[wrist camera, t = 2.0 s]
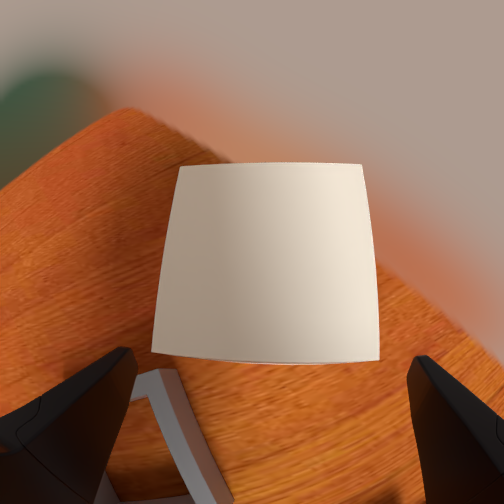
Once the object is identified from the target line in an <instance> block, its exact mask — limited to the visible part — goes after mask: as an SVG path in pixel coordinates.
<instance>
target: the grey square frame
mask: <svg viewBox="0 0 504 504" xmlns="http://www.w3.org/2000/svg"><path fill="white" fill-rule="evenodd" d="M146 397H148V398H149V401H150V404H151V406H152V409H153V412H154V414H155V417H156V419H157V422H158V424H159V427H160V429H161V432H162V434H163V437H164V439H165V441H166V444H167V446H168V448H169V450H170V453H171V455H172V457H173V459H174V461H175V464H176V466H177V468H178V470H179V472H180V474H181V476H182V478H183V480H184V482H185V484H186V486H187V488H188V490H189V492H190V494H188V495H182V496H176V497H169V498H161V499H152V500H142V501H129V502H120V500H119V499H118V497H117V495H116V493H115V491H114V489H113V487H112V485H111V482H110V480H109V478H108V476H107V474H106V472H105V471H104V474H103V477H102V480H101V483H100V486H99V489H98V492H97V495H96V498H95V501H94V504H233V502H234V498H233V497H232V495H231V493H230V491H229V489H228V487H227V485H226V483H225V481H224V479H223V477H222V475H221V473H220V471H219V469H218V467H217V465H216V463H215V461H214V459H213V456H212V454H211V452H210V450H209V448H208V446H207V443H206V441H205V439H204V437H203V434H202V432H201V430H200V427H199V425H198V423H197V420H196V418H195V416H194V413H193V411H192V408H191V406H190V403H189V401H188V398H187V396H186V393H185V391H184V388H183V385H182V383H181V380H180V377H179V375H178V372H177V369H160V368H158V369H155V370H152V371H149V372H146V373H143V374H140V375H137V377H136V380H135V384H134V387H133V391H132V395H131V398H130V402H132V401H135V400H139V399H142V398H146Z"/></svg>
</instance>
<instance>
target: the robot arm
mask: <svg viewBox="0 0 504 504" xmlns="http://www.w3.org/2000/svg"><path fill="white" fill-rule="evenodd" d="M137 373H138V365H137V362H136V359H135V357H134V354H133V351H132V349H131V348H128V347H122V346H120V347H117V348H116V349H114V350H113V351H111V352H109V353H108V354H106V355H105V356H103V357H102V358H100V359H98V360H97V361H95V362H94V363H92V364H90V365H89V366H87V367H86V368H84V369H82V370H81V371H79V372H78V373H76V374H74V375H73V376H71V377H70V378H68V379H66V380H65V381H63V382H62V383H60V384H58V385H57V386H55V387H54V388H52V389H50V390H49V391H47V392H46V393H44V394H42V396H39V397H37V398H36V399H34V400H33V401H31V402H29V403H27V404H26V405H24V406H22V407H20V408H18V409H17V410H15V411H13V412H11V413H9V414H7V415H5V416H2V417H0V504H94V501H95V498H96V495H97V492H98V489H99V486H100V483H101V480H102V477H103V474H104V471H105V468H106V466H107V463H108V460H109V457H110V454H111V452H112V449H113V446H114V443H115V441H116V438H117V435H118V433H119V430H120V427H121V425H122V422H123V420H124V417H125V415H126V412H127V409H128V406H129V402H130V398H131V395H132V391H133V387H134V384H135V380H136V377H137ZM407 386H408V394H409V402H410V410H411V418H412V424H413V429H414V434H415V438H416V443H417V448H418V453H419V459H420V464H421V470H422V476H423V483H424V490H425V497H426V504H504V420H503V419H502V418H501V417H500V416H499V415H497V414H496V413H495V412H494V411H493V410H492V409H491V408H489V407H488V406H487V405H486V404H485V403H484V402H482V401H481V400H480V399H479V398H478V397H477V396H475V395H474V394H473V393H472V392H471V391H470V390H468V389H467V388H466V387H465V386H464V385H462V384H461V383H460V382H459V381H458V380H456V379H455V378H454V377H453V376H452V375H450V374H449V373H448V372H447V371H446V370H444V369H443V368H442V367H441V366H440V365H438V364H437V363H436V362H435V361H434V360H432V359H431V358H430V357H429V356H427V355H420V356H415V357H414V359H413V361H412V363H411V366H410V368H409V371H408V373H407Z"/></svg>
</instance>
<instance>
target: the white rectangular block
mask: <svg viewBox="0 0 504 504" xmlns="http://www.w3.org/2000/svg"><path fill="white" fill-rule="evenodd" d="M151 352H155V353H161V354H168V355H175V356H182V357H190V358H198V359H206V360H216V361H226V362H237V363H254V364H285V365H318V364H337V363H351V362H364V361H374V360H379V313H378V294H377V279H376V266H375V256H374V246H373V237H372V229H371V221H370V213H369V206H368V200H367V194H366V187H365V181H364V176H363V170H362V165H361V164H360V165H359V164H340V163H296V162H295V163H294V162H291V163H290V162H287V163H285V162H279V163H278V162H276V163H275V162H274V163H232V164H211V165H194V166H180V170H179V174H178V179H177V183H176V188H175V193H174V198H173V203H172V208H171V213H170V219H169V224H168V230H167V235H166V241H165V247H164V253H163V260H162V266H161V273H160V280H159V287H158V295H157V303H156V311H155V320H154V329H153V339H152V350H151Z"/></svg>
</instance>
